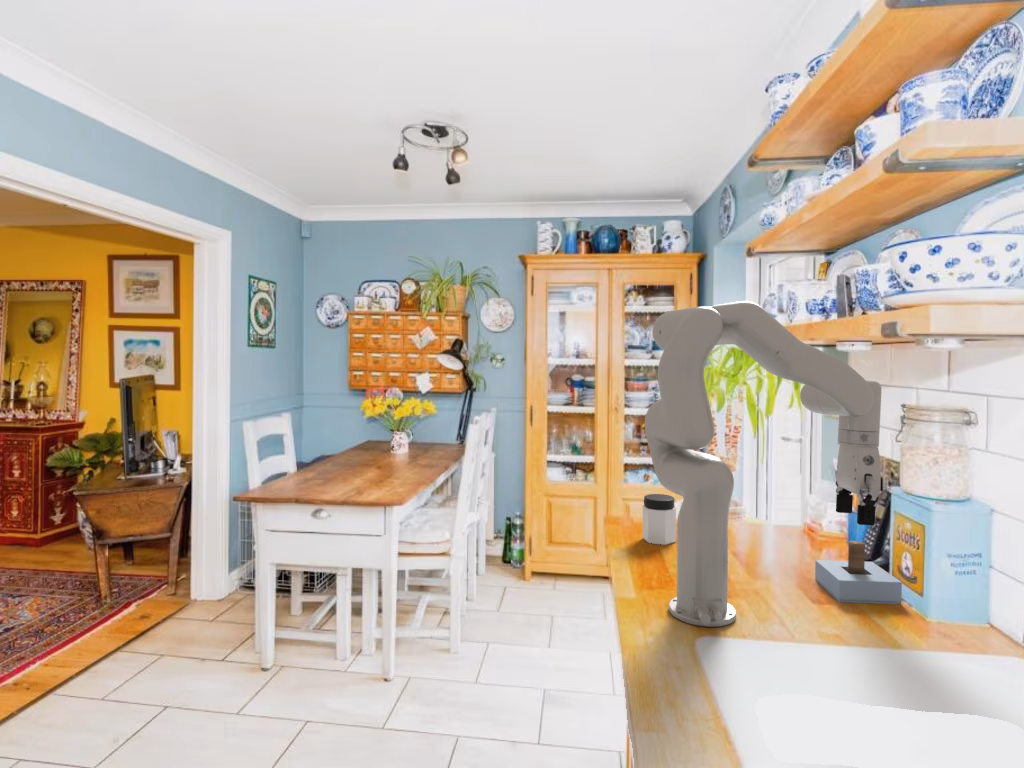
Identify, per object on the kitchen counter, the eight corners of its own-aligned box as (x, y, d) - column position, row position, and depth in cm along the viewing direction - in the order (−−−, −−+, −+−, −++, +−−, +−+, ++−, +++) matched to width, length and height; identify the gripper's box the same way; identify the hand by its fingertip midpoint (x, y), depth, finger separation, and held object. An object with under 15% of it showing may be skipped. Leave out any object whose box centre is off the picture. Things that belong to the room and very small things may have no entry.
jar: (657, 533, 167) (657, 492, 166) (681, 540, 160) (681, 497, 160) (636, 539, 161) (636, 496, 161) (660, 547, 155) (660, 502, 154)
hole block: (901, 604, 118) (901, 582, 118) (838, 601, 120) (839, 580, 119) (871, 581, 130) (872, 561, 130) (815, 579, 131) (815, 560, 131)
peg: (866, 591, 123) (867, 545, 123) (851, 591, 124) (852, 545, 123) (859, 586, 126) (860, 540, 126) (845, 585, 126) (845, 540, 126)
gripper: (899, 444, 114) (895, 531, 115) (857, 434, 131) (853, 509, 132) (859, 443, 115) (855, 528, 116) (822, 432, 132) (819, 507, 133)
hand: (854, 518), depth 124 cm, fingers open, 9 cm apart
